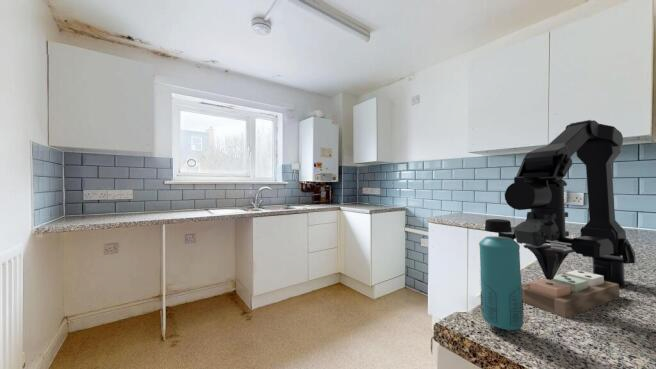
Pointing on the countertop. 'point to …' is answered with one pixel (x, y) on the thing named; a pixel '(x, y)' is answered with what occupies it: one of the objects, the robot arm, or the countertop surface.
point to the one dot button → (550, 288)
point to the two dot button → (587, 277)
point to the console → (571, 299)
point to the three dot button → (571, 282)
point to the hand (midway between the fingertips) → (549, 279)
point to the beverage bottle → (501, 278)
